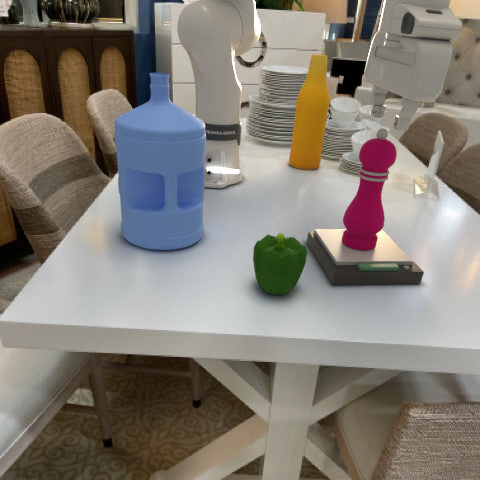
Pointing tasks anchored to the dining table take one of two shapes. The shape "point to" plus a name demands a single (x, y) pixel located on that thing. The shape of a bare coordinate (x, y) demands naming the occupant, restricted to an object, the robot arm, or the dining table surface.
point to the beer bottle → (310, 117)
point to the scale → (362, 260)
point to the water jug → (160, 171)
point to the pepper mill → (369, 194)
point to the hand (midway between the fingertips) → (387, 122)
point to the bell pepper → (278, 263)
